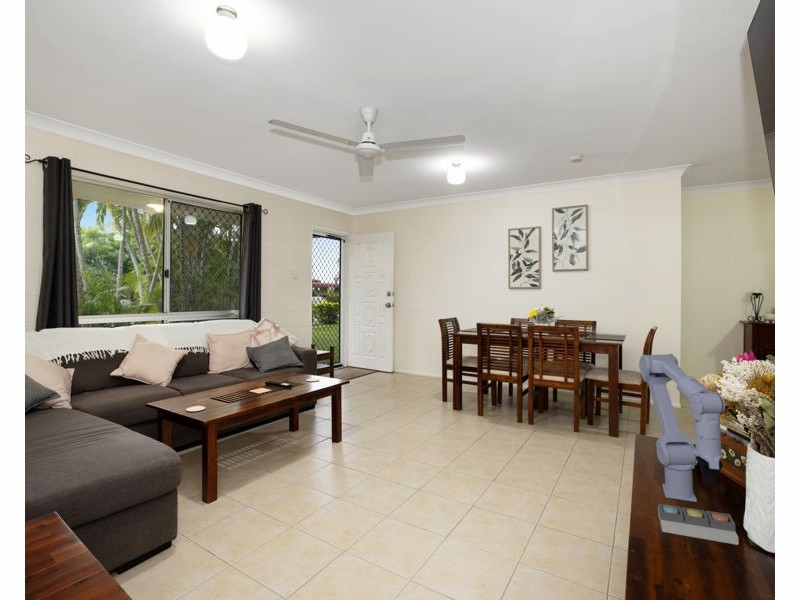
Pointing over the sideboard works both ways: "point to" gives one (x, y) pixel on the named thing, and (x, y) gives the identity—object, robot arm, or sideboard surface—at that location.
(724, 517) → the brick button
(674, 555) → the sideboard surface
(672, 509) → the teal button
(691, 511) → the ochre button
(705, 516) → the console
